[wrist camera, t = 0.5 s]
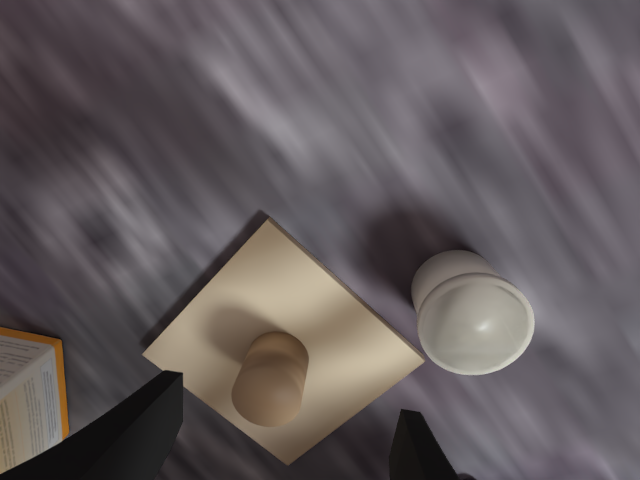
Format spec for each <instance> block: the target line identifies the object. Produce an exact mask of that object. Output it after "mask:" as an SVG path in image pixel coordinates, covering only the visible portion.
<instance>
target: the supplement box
mask: <svg viewBox="0 0 640 480" xmlns="http://www.w3.org/2000/svg"><path fill="white" fill-rule="evenodd" d="M68 434H69V424H68V410H67V399H66V384H65V376H64V360H63V348H62V340H60V339H56V338H51V337H47V336H44V335H38V334H33V333H28V332H23V331H18V330H13V329H8V328H4V327H0V474H1V473H3V472H5V471H7V470H9V469H11V468H13V467H15V466H17V465H19V464H21V463H23V462H25V461H27V460H29V459H31V458H33V457H35V456H37V455H39V454H41V453H42V452H44V451H46V450H48V449H49V448H51V447H53V446H55V445H57V444H58V443H60V442H62V441H63V439H64V438H65V437H66V436H67V435H68Z"/></svg>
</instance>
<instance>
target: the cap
mask: <svg viewBox="0 0 640 480" xmlns="http://www.w3.org/2000/svg"><path fill="white" fill-rule="evenodd" d="M411 296H412V300H413V304H414V307H415V310H416V314H417V330H418V335H419V338H420V342H421V345H422V347H423V349H424V351H425V352H426V354H427V355H428V357H429V358H430V359H431V360H432V361H433V362H435V363H436V364H437V365H439V366H440V367H442V368H444V369H446V370H448V371H451V372H454V373H458V374H463V375H481V374H487V373H491V372H494V371H497V370H500V369H502V368H504V367H506V366H507V365H509V364H511V363H512V362H513V361H515V360H516V359H517V358H518V357H519V356H520V355H521V354H522V353H523V352H524V351H525V349H526V348H527V346H528V345H529V343H530V341H531V338H532V336H533V332H534V324H535V323H534V314H533V310H532V308H531V306H530V304H529V302H528V300H527V299H526V298H525V297H524V295H523V294H522V293H521V292H520V291H519V290H518V289H517V288H516V287H515V286H514V285H513V284H512V283H510V282H509V281H507V280H506V279H504V278H502V277H501V276H500V275H499V274H498V273H497V272H496V271H495V269H494V268H493V267H492V266H491V265H490V264H489V263H488V261H486V260H485V259H484V258H483V257H481V256H480V255H478V254H475V253H473V252H470V251H465V250H450V251H445V252H441V253H439V254H436V255H434V256H432V257H431V258H429V259H428V260H427V261H425V262H424V263H423V264H422V265H421V266H420V267H419V269H418V270H417V272H416V273H415V275H414V278H413V281H412V285H411Z"/></svg>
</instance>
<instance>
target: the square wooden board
mask: <svg viewBox="0 0 640 480" xmlns="http://www.w3.org/2000/svg"><path fill="white" fill-rule="evenodd" d="M142 355H143V356H144V357H146V358H147V359H148V360H150V361H151V362H152V363H154V364H155V365H156V366H158V367H159V368H160V369H161V370H163V371H164V370H170V371H176V372H182V373H183V386H184V387H185V388H186V389H188V390H189V391H190V392H192V393H193V394H194V395H196V396H197V397H198V398H199V399H201V400H202V401H203V402H205V403H206V404H207V405H209V406H210V407H211V408H213V409H214V410H215V411H216V412H218V413H219V414H220V415H222V416H223V417H224V418H226V419H227V420H228V421H230V422H231V423H232V424H234V425H235V426H236V427H237V428H239V429H240V430H241V431H243V432H244V433H245V434H247V435H248V436H249V437H251V438H252V439H253V440H254V441H256V442H257V443H258V444H260V445H261V446H262V447H264V448H265V449H266V450H268V451H269V452H270V453H272V454H273V455H274V456H275V457H277V458H278V459H279V460H281V461H282V462H283V463H285V464H286V465H287V466H288V465H289V464H291V463H292V462H293V461H295V460H296V459H297V458H299V457H300V456H301V455H303V454H304V453H305V452H306V451H308V450H309V449H310V448H312V447H313V446H314V445H316V444H317V443H318V442H320V441H321V440H322V439H324V438H325V437H326V436H328V435H329V434H330V433H331V432H333V431H334V430H335V429H337V428H338V427H339V426H341V425H342V424H343V423H345V422H346V421H347V420H349V419H350V418H351V417H353V416H354V415H355V414H356V413H358V412H359V411H360V410H362V409H363V408H364V407H366V406H367V405H368V404H370V403H371V402H372V401H374V400H375V399H376V398H378V397H379V396H380V395H381V394H383V393H384V392H385V391H387V390H388V389H389V388H391V387H392V386H393V385H395V384H396V383H397V382H399V381H400V380H401V379H403V378H404V377H405V376H406V375H408V374H409V373H410V372H412V371H413V370H414V369H416V368H417V367H418V366H420V365H421V364H422V363H424V362H425V359H424V355H423V354H422V353H421V352H420V351H419V350H417V349H416V348H415V347H414V346H413V345H412V344H411V343H410V342H409V341H407V340H406V339H405V338H404V337H403V336H402V335H401V334H400V333H399V332H397V331H396V330H395V329H394V328H393V327H392V326H391V325H390V324H389V323H387V322H386V321H385V320H384V319H383V318H382V317H381V316H380V315H379V314H377V313H376V312H375V311H374V310H373V309H372V308H371V307H370V306H368V305H367V304H366V303H365V302H364V301H363V300H362V299H361V298H360V297H358V296H357V295H356V294H355V293H354V292H353V291H352V290H351V289H350V288H348V287H347V286H346V285H345V284H344V283H343V282H342V281H341V280H340V279H338V278H337V277H336V276H335V275H334V274H333V273H332V272H331V271H330V270H328V269H327V268H326V267H325V266H324V265H323V264H322V263H321V262H320V261H318V260H317V259H316V258H315V257H314V256H313V255H312V254H311V253H310V252H308V251H307V250H306V249H305V248H304V247H303V246H302V245H301V244H300V243H298V242H297V241H296V240H295V239H294V238H293V237H292V236H291V235H289V234H288V233H287V232H286V231H285V230H284V229H283V228H282V227H281V226H279V225H278V224H277V223H276V222H275V221H274V220H273V219H272V218H271V217H269V218H268V219H267V220H266V221H265V222H264V223H263V224H262V225H261V226H260V227H259V229H258V230H257V231H256V232H255V233H254V234H253V235H252V236H251V237H250V238H249V239H248V240H247V241H246V243H245V244H244V245H243V246H242V247H241V248H240V249H239V250H238V251H237V252H236V253H235V254H234V256H233V257H232V258H231V259H230V260H229V261H228V262H227V263H226V264H225V265H224V266H223V267H222V268H221V270H220V271H219V272H218V273H217V274H216V275H215V276H214V277H213V278H212V279H211V280H210V281H209V282H208V284H207V285H206V286H205V287H204V288H203V289H202V290H201V291H200V292H199V293H198V294H197V295H196V296H195V298H194V299H193V300H192V301H191V302H190V303H189V304H188V305H187V306H186V307H185V308H184V309H183V310H182V312H181V313H180V314H179V315H178V316H177V317H176V318H175V319H174V320H173V321H172V322H171V323H170V325H169V326H168V327H167V328H166V329H165V330H164V331H163V332H162V333H161V334H160V335H159V336H158V337H157V339H156V340H155V341H154V342H153V343H152V344H151V345H150V346H149V347H148V348H147V349H146V350H145V352H144V353H143V354H142Z"/></svg>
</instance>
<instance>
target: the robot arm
mask: <svg viewBox="0 0 640 480" xmlns="http://www.w3.org/2000/svg"><path fill="white" fill-rule="evenodd" d="M182 422H183V373H182V372H176V371H170V370H164V371H163V372H161V373H160V374H159V375H157V376H156V377H155V378H153V379H152V380H151V381H149V382H148V383H147V384H145V385H144V386H143V387H141V388H140V389H139V390H137V391H136V392H134V393H133V394H132V395H130V396H129V397H128V398H126V399H125V400H124V401H122V402H121V403H119V404H118V405H117V406H115V407H114V408H112V409H111V410H110V411H108V412H107V413H105V414H104V415H102V416H101V417H99V418H98V419H96V420H95V421H93V422H92V423H90V424H89V425H87V426H86V427H84V428H83V429H81V430H80V431H78V432H76V433H75V434H73V435H72V436H70V437H68V438H67V439H65V440H63V441H62V442H60V443H58V444H57V445H55V446H53V447H51V448H49V449H48V450H46V451H44V452H42V453H41V454H39V455H37V456H35V457H33V458H31V459H29V460H27V461H25V462H23V463H21V464H19V465H17V466H15V467H13V468H11V469H9V470H7V471H5V472H3V473H1V474H0V480H154V478H155V477H156V475H157V473H158V471H159V470H160V468H161V466H162V464H163V463H164V461H165V459H166V457H167V456H168V454H169V452H170V450H171V447H172V445H173V443H174V441H175V439H176V436H177V434H178V431H179V429H180V427H181V424H182ZM389 465H390V480H460V479H459V477H458V476H457V474H456V472H455V471H454V469H453V468H452V466H451V464H450V463H449V461H448V460H447V458H446V456H445V455H444V453H443V451H442V449H441V448H440V446H439V444H438V442H437V441H436V439H435V437H434V435H433V434H432V432H431V430H430V428H429V426H428V425H427V423H426V421H425V419H424V417H423V415H422V414H421V413H420V412H416V411H410V410H404V409H401V412H400V416H399V420H398V424H397V428H396V432H395V436H394V440H393V444H392V448H391V452H390V456H389Z"/></svg>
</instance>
